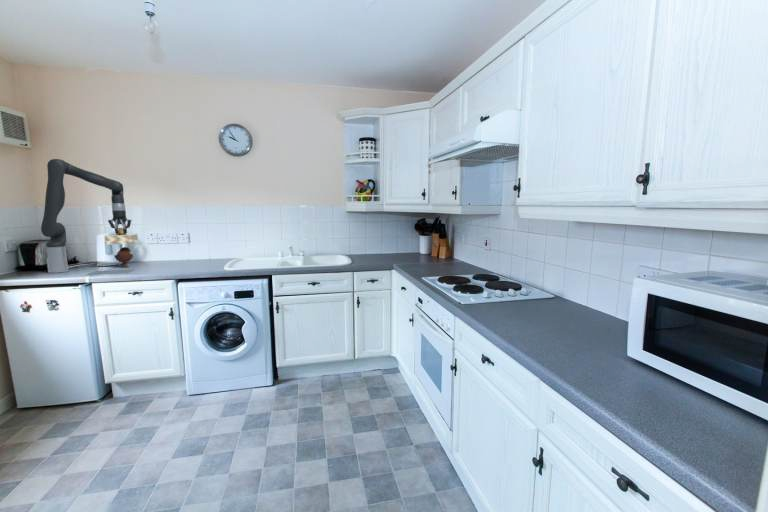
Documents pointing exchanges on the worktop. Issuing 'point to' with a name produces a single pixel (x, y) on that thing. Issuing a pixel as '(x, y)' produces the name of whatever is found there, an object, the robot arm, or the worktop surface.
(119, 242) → the lid
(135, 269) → the mat
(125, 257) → the ice cream bowl
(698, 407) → the worktop surface
